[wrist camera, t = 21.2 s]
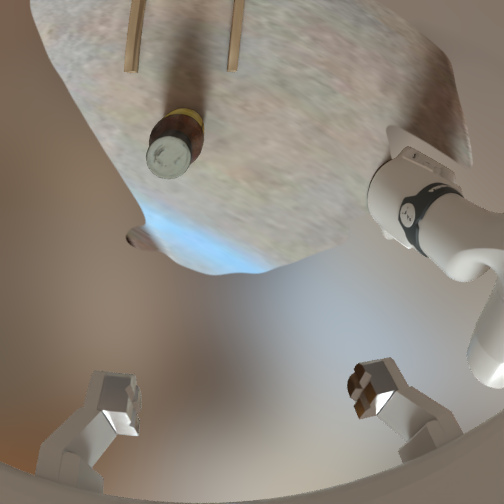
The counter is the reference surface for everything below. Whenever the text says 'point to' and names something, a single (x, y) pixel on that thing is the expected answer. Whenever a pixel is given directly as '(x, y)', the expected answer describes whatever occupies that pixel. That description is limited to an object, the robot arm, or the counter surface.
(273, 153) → the counter surface
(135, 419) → the robot arm
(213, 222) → the counter surface
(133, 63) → the wooden bracket
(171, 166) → the sauce bottle
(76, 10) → the counter surface
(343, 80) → the counter surface
